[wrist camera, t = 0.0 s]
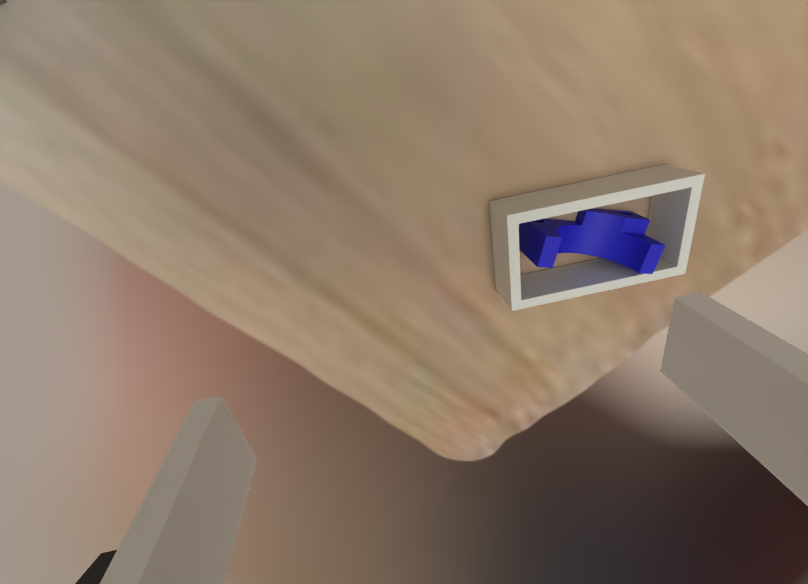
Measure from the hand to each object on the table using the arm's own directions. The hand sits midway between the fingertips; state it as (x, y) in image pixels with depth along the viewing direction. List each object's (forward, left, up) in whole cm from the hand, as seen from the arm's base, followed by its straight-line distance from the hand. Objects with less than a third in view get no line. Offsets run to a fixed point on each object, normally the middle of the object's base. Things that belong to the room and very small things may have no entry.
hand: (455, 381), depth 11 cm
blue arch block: (+9, +18, -28) cm, 35 cm away
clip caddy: (+9, +19, -28) cm, 35 cm away
